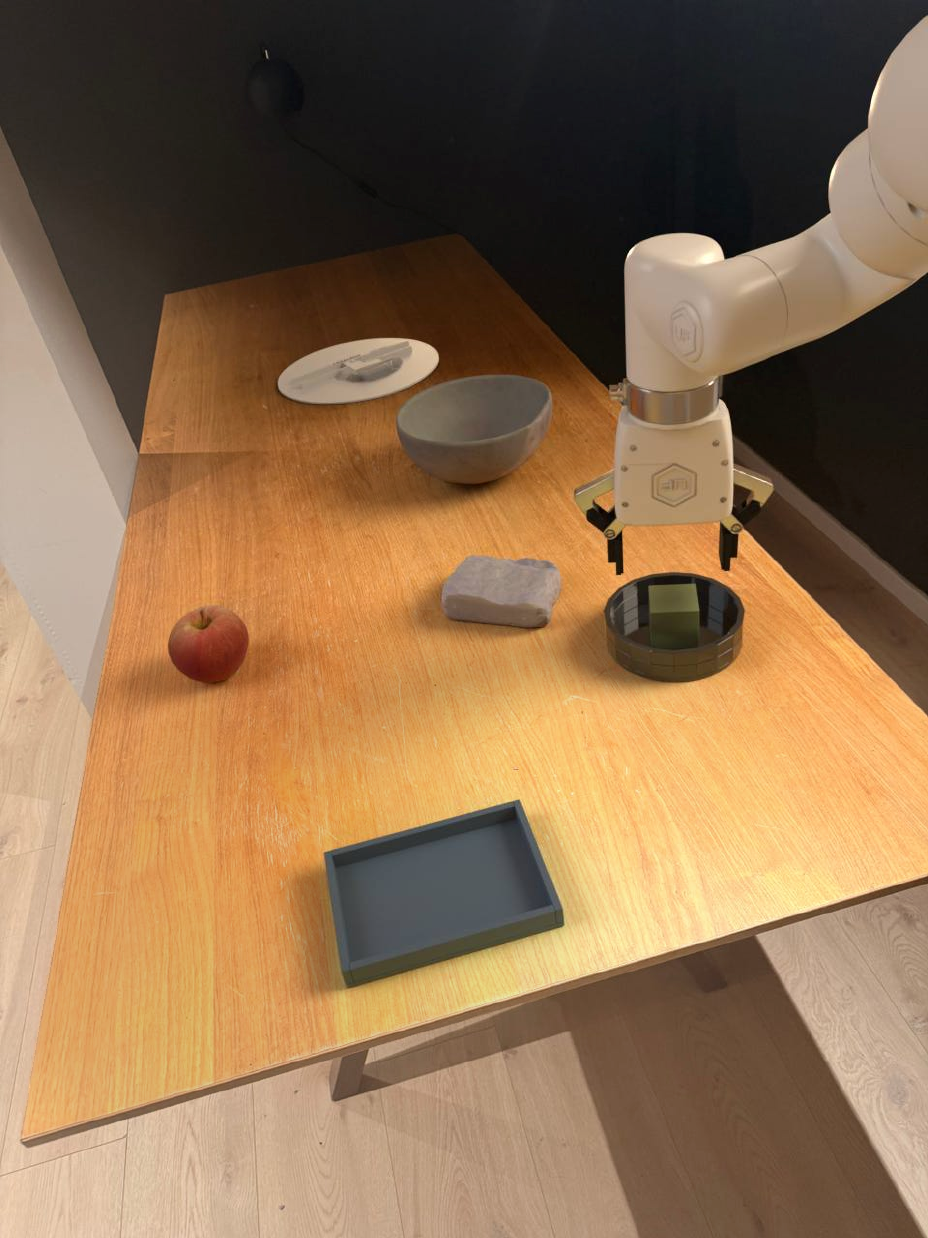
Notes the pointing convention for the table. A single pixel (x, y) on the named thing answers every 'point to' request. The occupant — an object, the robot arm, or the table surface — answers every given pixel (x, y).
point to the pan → (635, 654)
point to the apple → (208, 644)
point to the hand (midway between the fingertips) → (671, 564)
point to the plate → (358, 371)
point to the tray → (438, 892)
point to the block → (673, 616)
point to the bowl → (475, 426)
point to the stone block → (502, 591)
